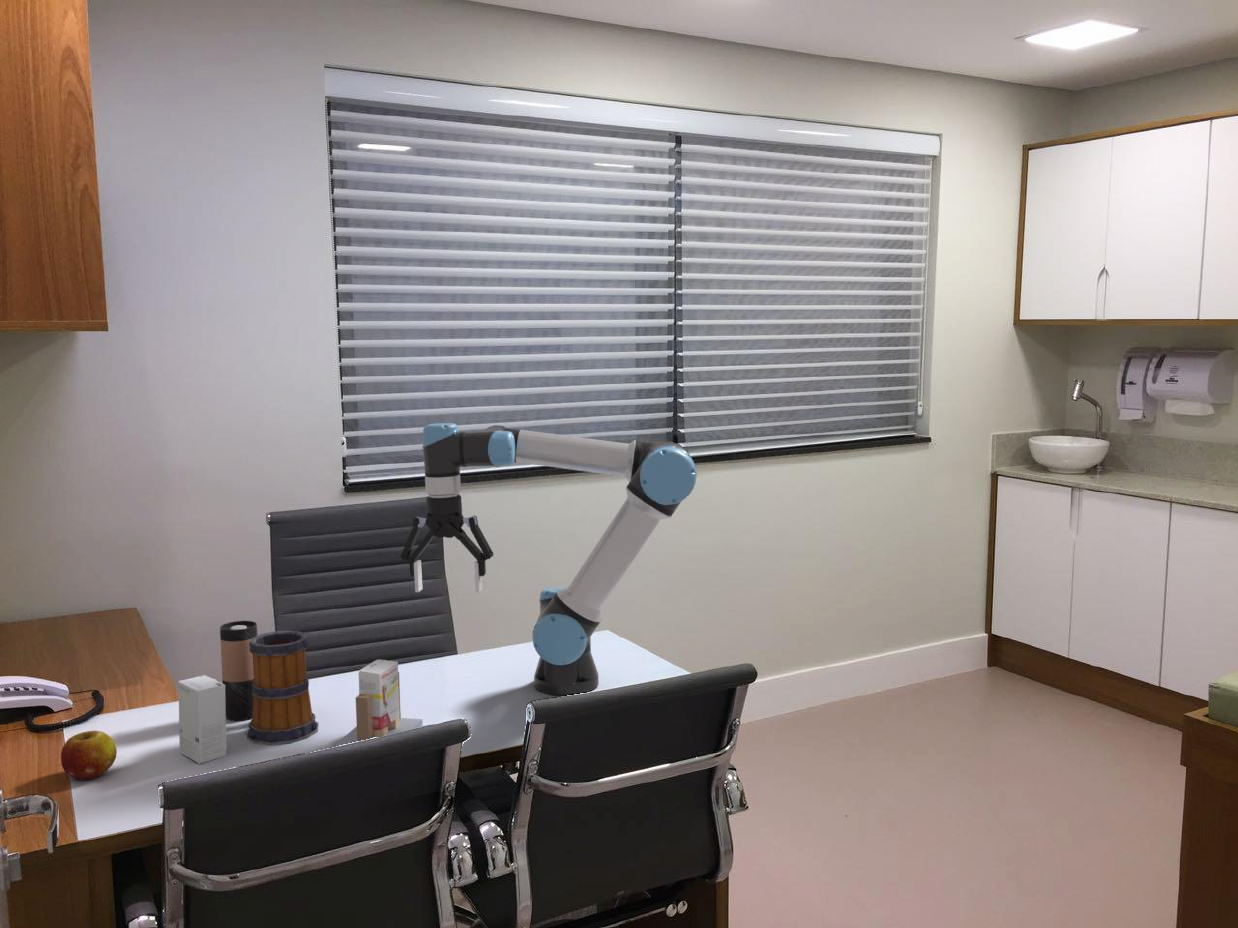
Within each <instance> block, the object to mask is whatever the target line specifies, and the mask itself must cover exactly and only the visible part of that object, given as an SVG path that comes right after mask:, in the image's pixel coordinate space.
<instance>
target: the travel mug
mask: <svg viewBox="0 0 1238 928" xmlns="http://www.w3.org/2000/svg"><path fill="white" fill-rule="evenodd" d="M257 625H258V624H257V623H256V622H255V621H252V620H236V621H231V622H227V623H224V624H222V625H220V627H219V637H220V639H219V640H220V656H221V657H220V658H221V659H220V660H221V661H220V662H221V679H222V682H221V683H222V684H224V685H225V705H226V720H228V719H229V720H228V721H232V720H234V721H233V722H240V721H247V720H252V713H253V693H252V684H253V682H254V671H253V653H251V652H250V646H249V643H250V641H251V639H252V638H254V637H256V636H258V626H257Z"/></svg>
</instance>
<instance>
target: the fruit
mask: <svg viewBox="0 0 1238 928" xmlns="http://www.w3.org/2000/svg"><path fill="white" fill-rule="evenodd" d="M63 744H64V745H63V746H62V747H61V748H62V749H61V753H60V762H61V763H60V764H61V766H62V769H63V771H64V772H65V774H66V775H68V776H69V777H70V778H72V779H74V780H81V781H82V780H83V781H87V780H92V779H95V778H98V777H100V776H101V775H103V774H104V773H107V771H109V770H110V768H111V767H112V766H113V765H114V763H115V760H116V758H117V753H118V752H117V746H116V743H115V741H114V739H113V738H111V736H109V735H108V733H106V732H104V731H101V730H87V731H83V732H80V733H79V732H78V733H76V734H74V735H73V736H71V737H70V738H68V739H67V740H66V742H64V743H63Z"/></svg>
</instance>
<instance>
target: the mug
mask: <svg viewBox="0 0 1238 928" xmlns="http://www.w3.org/2000/svg"><path fill="white" fill-rule="evenodd" d="M249 646H250V652H251V653H253V671H254V682H253V684H252V693H253V713H252V719H250V721H249V723H248V730H247V733H246V735H245V736H246V739H247V740H248V741H250V742H252V743H253V744H255V745H256V744H258V745H266V746H279V745H288V744H290V745H291V744H293V743H296V742H300V741H304V740H307V739H309V738H311V737H312V736H314V735H315V734H317V733H318V732H319V722H318V721H316V714H315V713H313V710H312V708H313V707H312V704H311V696H310V689H309V686H310V685H309V684H310V682H309V681H310V680H309V675H307V663H306V662H307V661H306V648H308V646H309V641H308V636H307V634H306V633H304V632H301V631H296V630H276V631H270V632H264V633H261V634H257V636H256V637H254V638H252V639H251V641H250V643H249Z"/></svg>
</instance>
